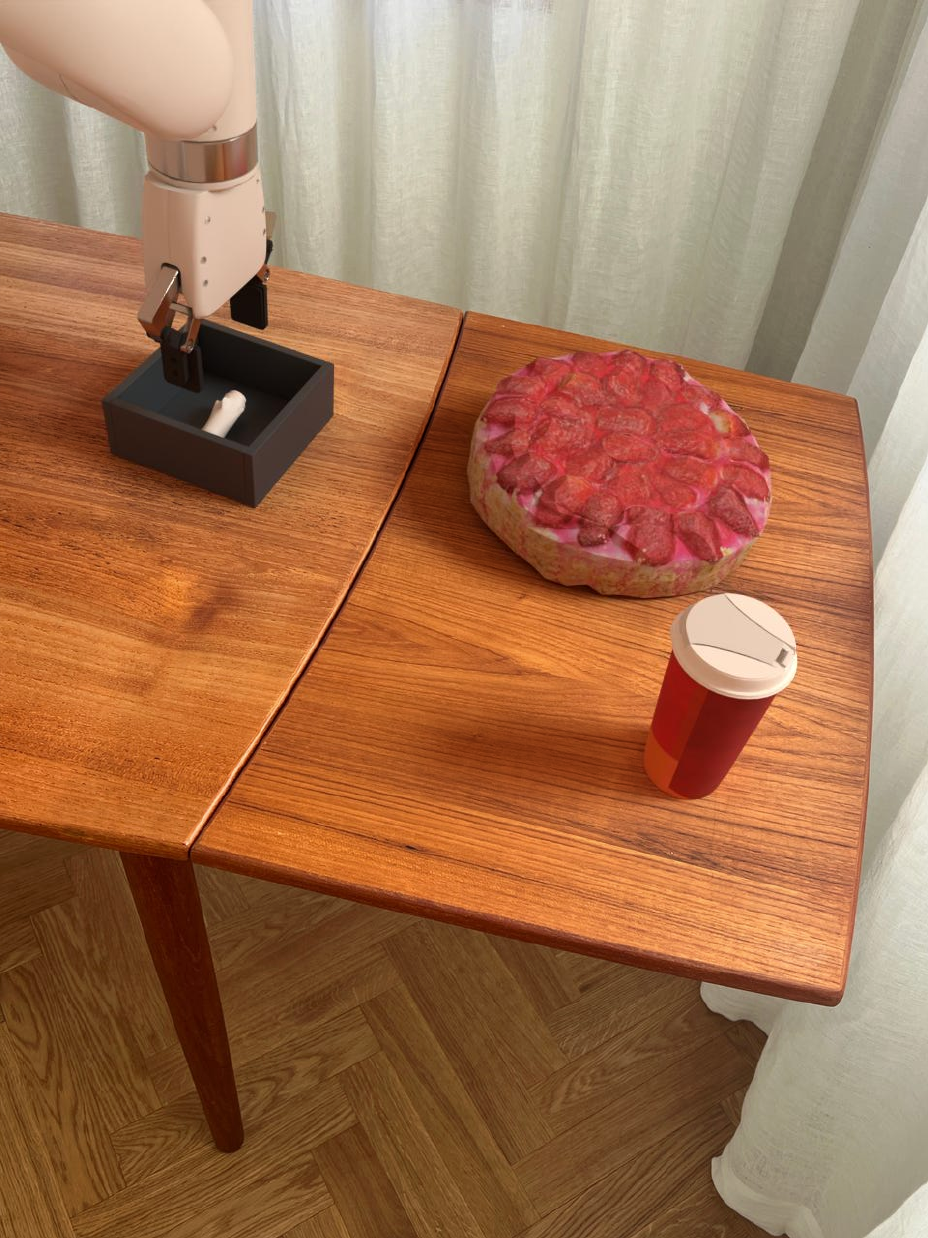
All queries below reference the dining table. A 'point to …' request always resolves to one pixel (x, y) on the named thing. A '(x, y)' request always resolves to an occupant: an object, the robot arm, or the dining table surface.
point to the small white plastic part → (225, 413)
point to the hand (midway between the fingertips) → (218, 353)
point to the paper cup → (716, 690)
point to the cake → (619, 474)
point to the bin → (174, 417)
